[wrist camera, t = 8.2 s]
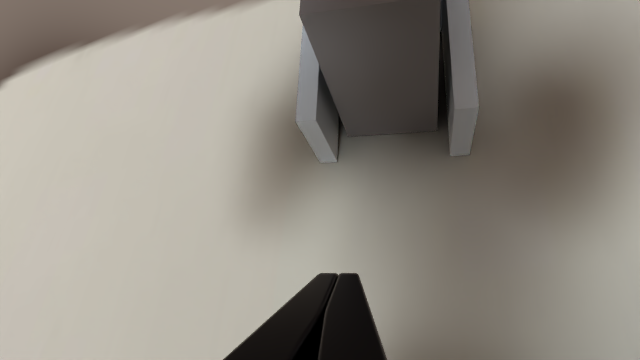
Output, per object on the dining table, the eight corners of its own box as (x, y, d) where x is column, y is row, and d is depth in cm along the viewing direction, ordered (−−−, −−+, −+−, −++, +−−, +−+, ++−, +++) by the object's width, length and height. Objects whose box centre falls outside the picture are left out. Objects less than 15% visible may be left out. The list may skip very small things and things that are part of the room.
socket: (469, 155, 22) (486, 69, 16) (320, 162, 24) (276, 90, 18) (457, 16, 26) (467, -106, 19) (327, 32, 28) (292, -72, 21)
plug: (437, 130, 23) (440, -5, 14) (348, 136, 25) (299, 14, 15) (431, 39, 26) (432, -129, 16) (350, 48, 27) (308, -103, 18)
